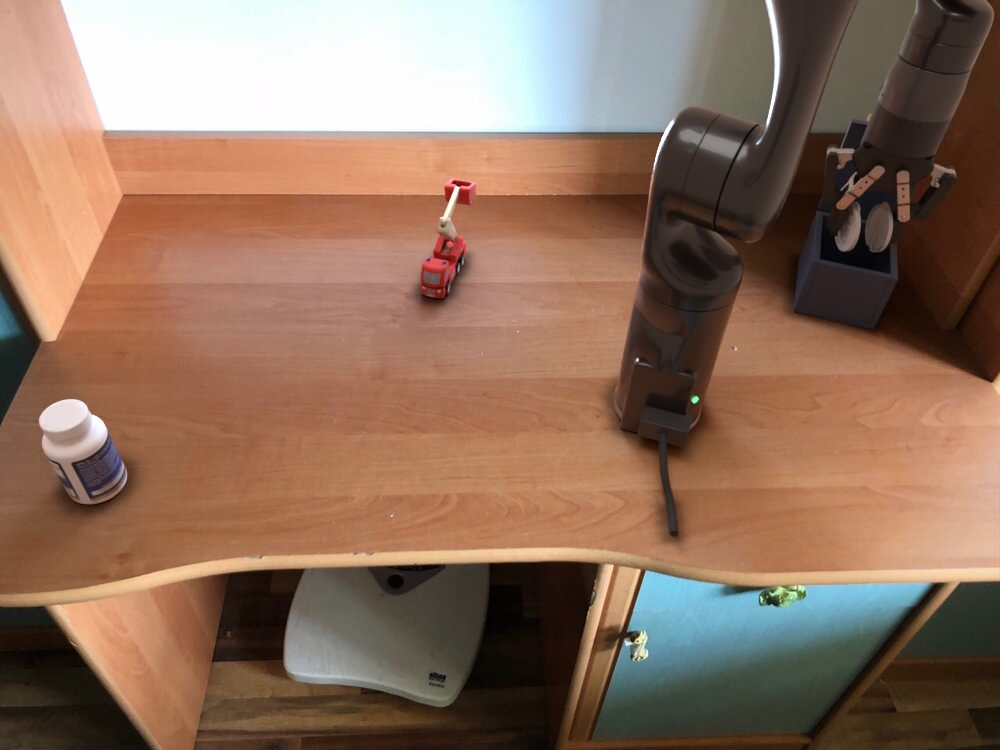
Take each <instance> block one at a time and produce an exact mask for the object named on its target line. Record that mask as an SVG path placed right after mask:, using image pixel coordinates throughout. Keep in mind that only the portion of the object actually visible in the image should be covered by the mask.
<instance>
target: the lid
mask: <svg viewBox="0 0 1000 750" xmlns="http://www.w3.org/2000/svg"><path fill="white" fill-rule="evenodd" d="M871 115H872V113H869V114H868V116H867V117H866V120H861V119H857V118H851V120H850V122H849V124H848V127H847V130H846V133H845V135H844V138H843V140H842V143H841V146H840V147H839V149H853V148H854V147H855V146H856V145H857V144H858V143H859V142H860V141H861V140H862V138H863V136H864V133H865V130H866V128H867V125H868V123H869V120H870V118H871ZM855 172H856V169H855V166H854V164H853V161H852V160H849V161H847V162H846V163H845V166H844V167H843V168H842V169H837V173H836V181H835V187H836V188H837V189H839V190H841V189H842V188H843V187H844V186H845V185H846V184H847V182H848V181H849V179H850V177H851V176H852V175H853V174H854V173H855ZM918 183H919V182H917V183H916V184H914V185H912V186H911V187H909V194H910V198H912V196H913V193H914V191H915V190H916V187H917V185H918ZM853 202H858V203H859V205H860V217H861V219H864V220H867V218H868V216H869V213H870V211H871V210H872V209H873V207H874V206H876V205H878V204H882V203H883V202H887V203H888V204H889V206H890V210H891V212H892V213H893V211H895V212H896V210H897V193H896V194H895V195H894V194H889V193H886V192H884V191H882V190H874V191H873V190H868V189H867V190H866V191H865V192H864V193H863V194H862V195H861V196H860V197H858V198H856V199H855V200H854V201H853ZM853 202H852V203H853ZM855 205H856V204H855ZM856 206H857V205H856ZM832 208H833V204H832V203H831V202H825V201H823V199H822V197H821V198H820V201H819V203H818V205H817V209H818V210H819V211H824V212H829V213H831V210H832Z"/></svg>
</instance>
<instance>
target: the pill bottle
mask: <svg viewBox="0 0 1000 750" xmlns="http://www.w3.org/2000/svg"><path fill="white" fill-rule="evenodd" d="M38 425H39V427H40V429H41V431H42V433H43V436H42V438H41V447H42V451H43V453H44V455H45V457H46V458H47V460H48V462H49V464H50V465H51V468H52V469H53V471H54V472H55V474H56V476H57V477H58V479H59V481H60V483H61V484H62V486H63V488H64V489H65V491H66V494H68V496H69V497H70V498H71V500H72V501H74V502H76V503H78V504H83V505H95V504H96V505H97V504H100V503H104V502H107V501H108V500H110V499H113V498H114V497H116V495H118V494H119V493H120V492H121V491H122V490H123V488H124V487H125V485H126V483H127V479H128V471H127V467H126V466H125V464H124V461H123V459H122V457H121V456H120V453H119V451H118V449H117V447H116V445H115V443H114V441H113V439H112V436H111V435H110V432H109V430H108V427H107V426H106V424H105V423H104V421H103V420H102V418H100V417H98V416H97V415H95V414H92V413H91V411H90V410H89V407H88V406H87V404H86V403H85V402H83V401H82V400H79V399H75V398H69V399H67V398H66V399H63V400H58V401H56V402H54V403H52V404H51V405H49V406H47V407H46V408H44V410H43V411H42V413H41V414H40V415H39V418H38Z"/></svg>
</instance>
